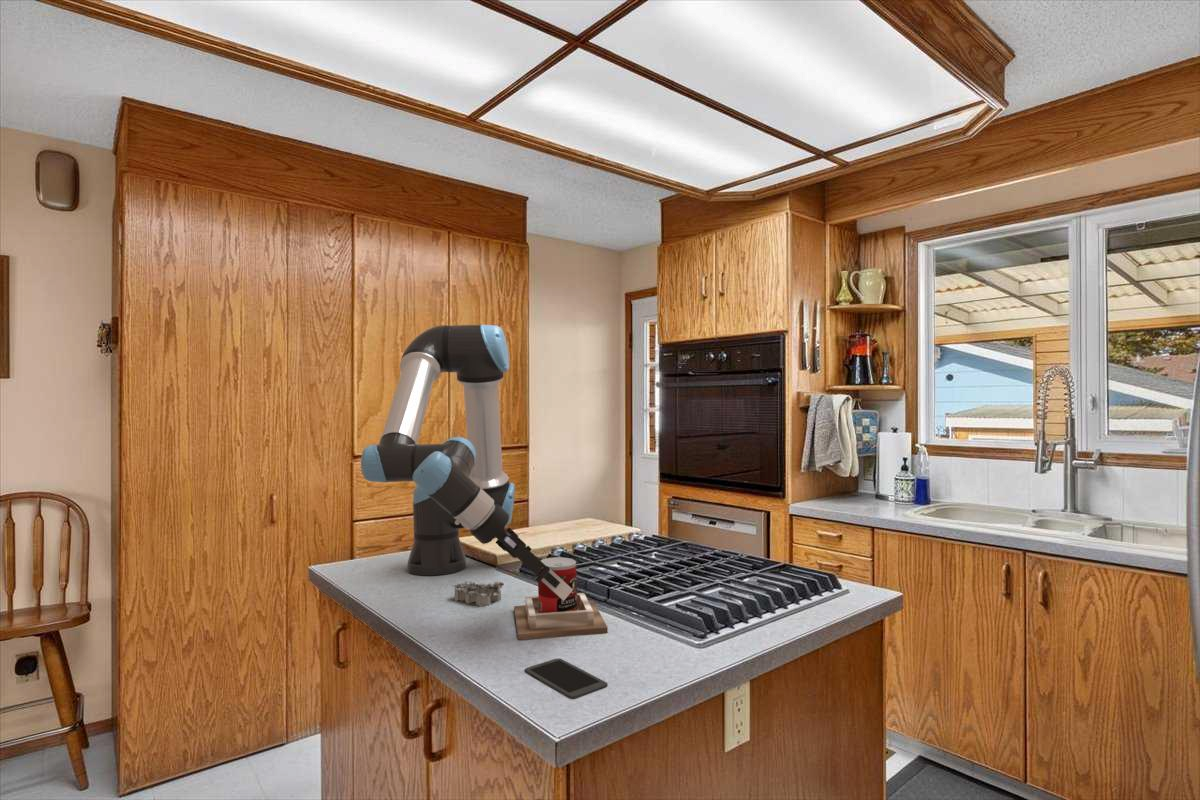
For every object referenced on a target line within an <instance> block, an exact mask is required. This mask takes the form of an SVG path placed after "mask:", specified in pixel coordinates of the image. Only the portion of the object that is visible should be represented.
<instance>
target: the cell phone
mask: <svg viewBox="0 0 1200 800" xmlns="http://www.w3.org/2000/svg"><path fill="white" fill-rule="evenodd" d="M524 672H525V673H526V674H527V675H528V676H531V677H532V678H534V679H535V680H537V681H539V682H540V683H542V684H544V685H545V686H548V687H549V688H551V689H552V690H554V691H556V692H558V693H559V694H561V695H563V696H564V697H567V698H568V699H570V700H577V699H578V698H581V697H584V696H586V695H590V694H593V693H594V692H598V691H600V690H603V689H606V688H607V687H608V686H609V685H608V682H606V681H605V680H603V679H600V677H598V676H595V675H593V674H591V673H589V672H587V671H585V670H584V669H582V668H579V666H576V665H575V664H572V663H570V662H569V661H567V660H564V659H562V658H559V657H558V658H553V659H550V660H548V661H544V662H540V663H537V664H535V665H531V666H528V667H526V668H524Z"/></svg>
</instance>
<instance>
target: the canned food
mask: <svg viewBox="0 0 1200 800" xmlns="http://www.w3.org/2000/svg"><path fill="white" fill-rule="evenodd" d="M539 560H540V561H541V562H542V563H544V564H545V565H546V566H548V567H549V568H550V569H551V570H552V571H553V572H554V573H555V574H556V575H558V576H559V577H560V578H561V579H562V580H563V581H564V582H565V583H566V584H567V585H568V586H570V587H571V588H572V589H573V591H572V592H571V593H570V594H569V595H568V597H567V598H566V599H565V600H564V601H563V600H562V599H561V598H560V597H559V596H558V595H557V594H556V593H555V592H553V591H552V590H551V589H550V588H549V587H548V586H547V585H546V584H545V583H543V582H542V581H540V582H539V583H538V582H537V593H538V595H537V596H538V601H539V613H552V612H566V611H577V593H578V587H577V586H578V585H577V584H578V583H577V582H578V581H577V580H578V579H577V578H578V577H577V571H578V570H577V561H576V560H575V559H573V558H569V557H559V556H558V557H556V556H555V557H548V558H543V559H539ZM542 569H543V568H541V570H542ZM541 570H540V571H541ZM540 571H539V572H540ZM539 572H538V573H539Z"/></svg>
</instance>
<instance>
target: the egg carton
mask: <svg viewBox="0 0 1200 800" xmlns="http://www.w3.org/2000/svg"><path fill="white" fill-rule="evenodd" d="M451 586H452V587H453V588H454V601H455V600H461V601H464V600H466V601H465V602H466V603H465V604H468V603H470V604H472V603H471V602H476V603H475V604H476V606H477V605H479V606H478V607H481V606H480V605H484V606H486V605H488V606H490V605H489V604H491V603H492V602H491V601H494V602H497V601H498V602H501V601H502V591H501V589H502V587H504V582H502V581H494V583H491V582H489V583H475V582H474V581H469V583H468V582H467V581H465V582H461V583H457V584H451ZM500 600H501V601H500Z"/></svg>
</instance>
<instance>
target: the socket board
mask: <svg viewBox="0 0 1200 800" xmlns="http://www.w3.org/2000/svg"><path fill="white" fill-rule="evenodd" d="M513 611H514V612H515V613H514V612H513V613H514V619H515V624H516V625H515V626H516V633H517V640H519V641H522V640H533V639H534V640H535V639H545V638H557V637H559V638H560V637H568V636H569V637H570V636H581V635H583V636H584V635H595V634H607V633H608V631H609V629H608V625H607V624H606V622H605V620H604V618H603V616H602V614H601V613H600V611H599V609H598V607H597V605H596V602H595V601H594V600H588V598H587V595H586V594H585V592H577V611H566V612H552V613H539V601H538V595H532V596H525V604H524V605H523V604H522V605H514V606H513Z"/></svg>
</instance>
